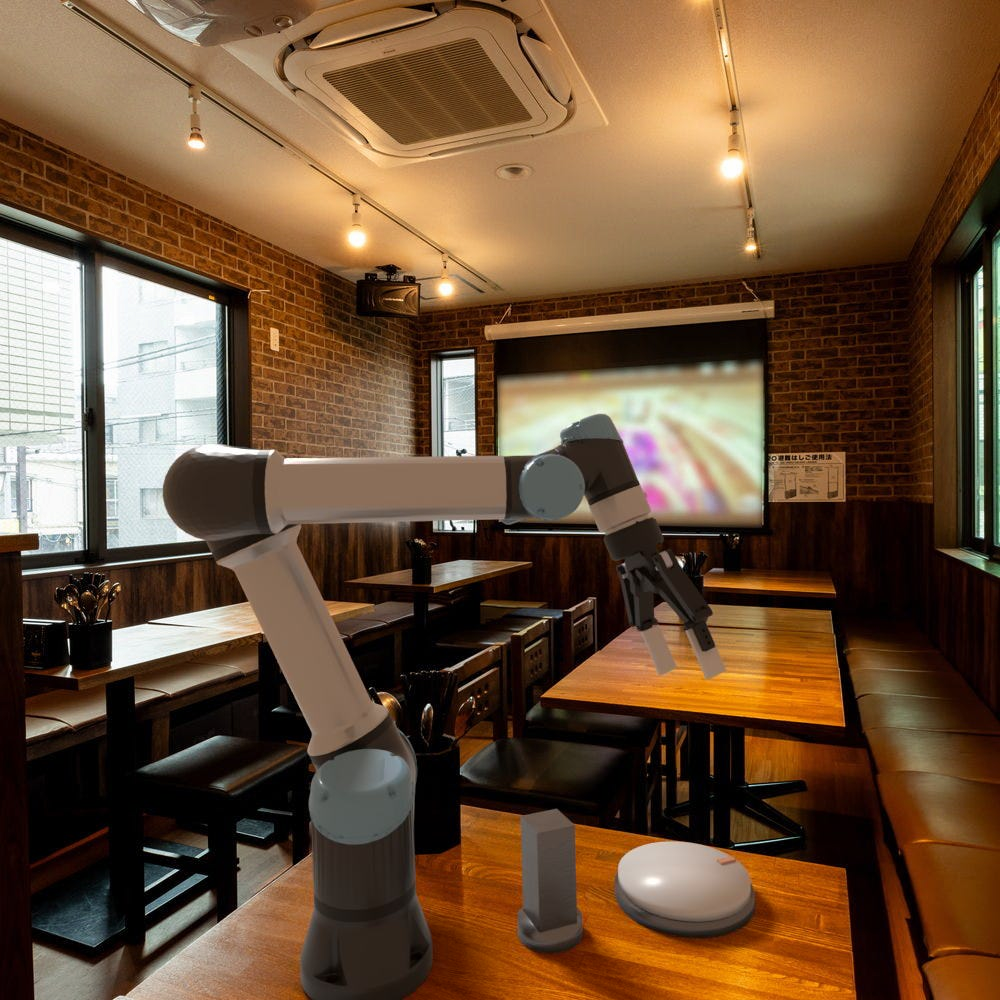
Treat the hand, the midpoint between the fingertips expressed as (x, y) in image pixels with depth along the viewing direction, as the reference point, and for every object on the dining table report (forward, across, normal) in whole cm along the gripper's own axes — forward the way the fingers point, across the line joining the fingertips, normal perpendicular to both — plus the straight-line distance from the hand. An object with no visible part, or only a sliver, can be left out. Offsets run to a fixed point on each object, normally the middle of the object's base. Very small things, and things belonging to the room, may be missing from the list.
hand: (690, 673), depth 98 cm
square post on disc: (+22, +4, +29) cm, 37 cm away
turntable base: (+27, +6, +11) cm, 30 cm away
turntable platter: (+25, +6, +10) cm, 28 cm away
